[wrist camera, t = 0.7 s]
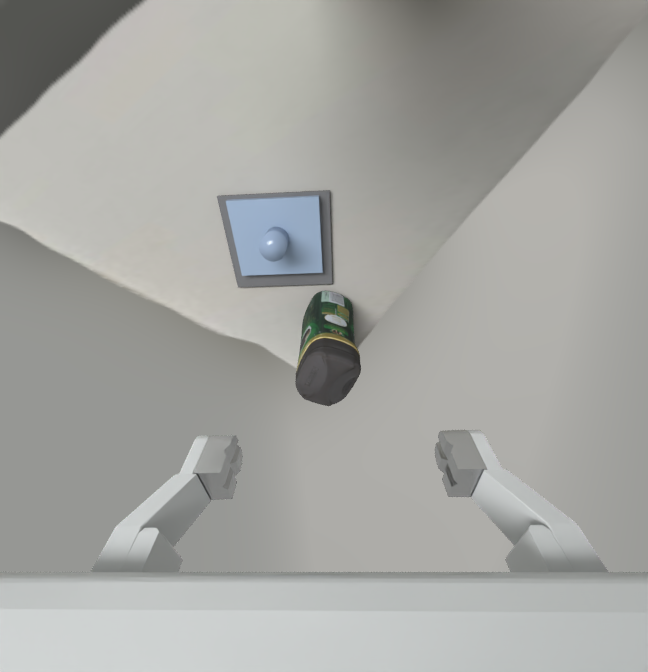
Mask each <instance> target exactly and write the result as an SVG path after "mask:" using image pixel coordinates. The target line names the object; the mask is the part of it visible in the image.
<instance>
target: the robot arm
mask: <svg viewBox="0 0 648 672" xmlns="http://www.w3.org/2000/svg"><path fill="white" fill-rule="evenodd" d="M438 438H439V442H438V443H436V447H435V458H436V462H437V465H438V468H439V469H440V470H441V471H442V472H443V473H444V475H443V478H442V480H443V483H444V486H445V489H446V492H447V495H448V496H449V497H471V499H472V500H473V501H474V502H475V503H476V504H477V505H478V506H479V507H480V509H481V510H482V511H483V512H484V513H485V514H486V515H487V516H488V517H489V518H490V519H491V520H492V522H493V523H494V524H495V525H496V526H497V527H498V528H499V529H500V530H501V531H502V532H503V533H504V534H505V536H506V537H507V538H508V539H509V540H510V541H511V542H512V543H513V544H514V545H515V546H514V547H513V549H512V550H511V551H510V553H509V554H508V555H507V557H506V559H505V560H506V562H507V565H508V567H509V569H510V572H179V569H180V565H181V563H182V558H181V556H180V555H179V554H178V552H177V551H176V550H175V549H174V548H173V547H174V545H175V544H176V543H177V542H178V541H179V540H180V538H181V537H182V536H183V535H184V533H185V532H186V531H187V530H188V529H189V527H190V526H191V525H192V524H193V522H194V521H195V520H196V519H197V518H198V516H199V515H200V514H201V513H202V512H203V510H204V509H205V508H206V507H207V505H208V504H209V503H210V502H211V500H216V499H232V498H233V494H234V491H235V487H236V484H237V481H236V479H235V476H236V475H237V474H238V473H239V472H240V469H241V465H242V450H241V447H239V446H238V445H237V443H238V439H237V437H236V436H198V437H197V438H196V439H195V441H194V443H193V445H192V447H191V449H190V451H189V454H188V456H187V458H186V460H185V462H184V464H183V467H182V469H181V471H180V473H179V474H175V475H174V476H173V477H172V478H171V479H169V480H168V481H167V482H166V483H165V484H164V485H163V486H162V487H161V488H159V489H158V490H157V491H156V492H155V493H154V494H153V495H151V496H150V497H149V498H148V499H147V500H146V501H145V502H143V503H142V504H141V505H140V506H139V507H138V508H137V509H135V510H134V511H133V512H132V513H131V514H130V515H129V516H127V518H125V519H124V520H123V521H122V522H121V523H120V524H118V525H117V526H116V527H115V529H114V531H113V533H112V535H111V536H110V538H109V540H108V542H107V543H106V545H105V547H104V549H103V551H102V552H101V554H100V556H99V558H98V559H97V561H96V563H95V565H94V566H93V568H92V570H91V572H0V672H648V572H608V570H607V569H606V567H605V566H604V564H603V563H602V562H601V560H600V558H599V557H598V555H597V554H596V552H595V551H594V549H593V548H592V546H591V545H590V543H589V541H588V540H587V538H586V537H585V535H584V534H583V532H582V531H581V529H580V528H579V526H578V525H577V524H576V523H575V522H574V521H572V520H571V519H570V518H569V517H568V516H566V515H565V514H564V513H562V512H561V511H560V510H559V509H557V508H556V507H555V506H553V505H552V504H551V503H550V502H548V501H547V500H546V499H544V498H543V497H542V496H541V495H539V494H538V493H537V492H536V491H534V490H533V489H532V488H530V487H529V486H528V485H527V484H525V483H524V482H523V481H521V480H520V479H519V478H518V477H516V476H515V475H514V474H512V473H511V472H510V471H509V470H507V469H505V470H504V469H503V468H502V466H501V464H500V463H499V461H498V459H497V457H496V455H495V453H494V452H493V450H492V448H491V446H490V444H489V442H488V441H487V439H486V437H485V435H484V433H483V432H482V431H481V430H453V431H440V432H439V435H438Z"/></svg>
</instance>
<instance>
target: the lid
mask: <svg viewBox="0 0 648 672" xmlns="http://www.w3.org/2000/svg"><path fill="white" fill-rule="evenodd" d="M226 205H227V210H228V214H229V219H230V223H231V228H232V232H233V237H234V242H235V246H236V251H237V255H238V260H239V264H240V269H241V273H242V276H248V275H274V274H301V273H323V265H322V246H321V226H320V206H319V195H314V196H294V197H273V198H252V199H232V200H227V201H226Z"/></svg>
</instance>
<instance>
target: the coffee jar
mask: <svg viewBox="0 0 648 672" xmlns="http://www.w3.org/2000/svg"><path fill="white" fill-rule="evenodd" d="M360 371H361V365H360V355H359V351H358V349H357V347H356V346H355V340H354V328H353V310H352V304H351V302H350V301H349V300H348V299H347V298H345V297H344V296H342V295H340V294H338V293H335V292H331V291H321V292H319V293H317V294H316V295H315V296H314V297H313V298H312V300H311V302H310V304H309V306H308V308H307V310H306V312H305V315H304V319H303V325H302V336H301V345H300V353H299V360H298V366H297V371H296V388H297V390H298V392H299V393H300V395H301V396H302V397H303V398H304V399H306V400H309V401H311V402H315V403H318V404H322V405H327V406H331V405H332V404H335V403H337V402H339V401H341V400H342V399H344V398H345V397H346V396H347V394H348V393H349V391H350V390H351V388H352V387H353V385H354V383H355V382H356V380H357V378H358V377H359V375H360Z"/></svg>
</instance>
